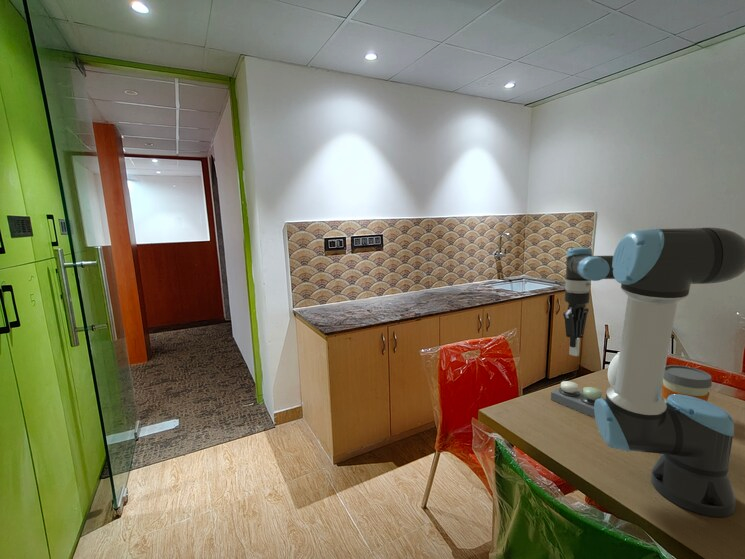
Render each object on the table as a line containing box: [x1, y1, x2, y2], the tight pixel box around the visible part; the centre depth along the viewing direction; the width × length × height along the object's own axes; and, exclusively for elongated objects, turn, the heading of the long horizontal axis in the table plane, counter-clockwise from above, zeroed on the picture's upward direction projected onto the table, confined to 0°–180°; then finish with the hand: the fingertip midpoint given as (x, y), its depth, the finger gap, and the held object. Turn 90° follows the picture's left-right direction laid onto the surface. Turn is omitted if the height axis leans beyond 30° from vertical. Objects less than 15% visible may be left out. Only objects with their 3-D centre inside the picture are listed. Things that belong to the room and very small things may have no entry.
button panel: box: [550, 387, 596, 419], centre depth 123 cm, size 10×24×4 cm, turn 32°
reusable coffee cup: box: [661, 364, 713, 403], centre depth 118 cm, size 13×13×15 cm
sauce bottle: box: [607, 351, 620, 387], centre depth 135 cm, size 8×8×18 cm
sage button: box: [582, 386, 603, 400], centre depth 123 cm, size 6×6×2 cm
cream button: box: [560, 380, 579, 393], centre depth 130 cm, size 6×6×2 cm
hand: (573, 354), depth 127 cm, fingers closed
